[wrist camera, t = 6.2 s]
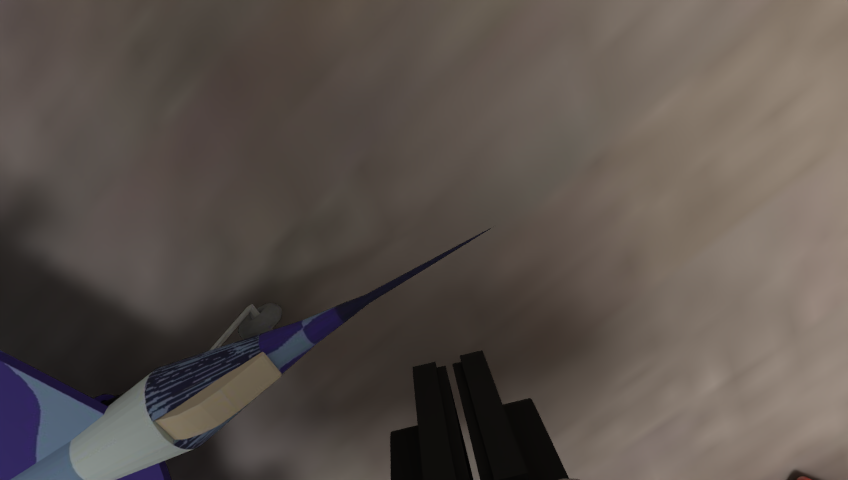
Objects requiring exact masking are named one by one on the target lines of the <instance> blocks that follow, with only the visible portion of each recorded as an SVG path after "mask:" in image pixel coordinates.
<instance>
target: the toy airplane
mask: <svg viewBox="0 0 848 480" xmlns="http://www.w3.org/2000/svg"><path fill="white" fill-rule="evenodd" d="M490 229H491V228H490ZM488 230H489V229H488ZM488 230H486V231H488ZM486 231H484V232H486ZM484 232H482V233H481V234H483V233H484ZM481 234H479V235H481ZM479 235H477V236H475V237H473V238H471V239H469V240H467V241H466V242H464V243H462V244H460V245H458V246H456V247H454V248H452V249H450V250H449V251H447V252H445V253H443V254H441V255H439V256H437V257H435V258H434V259H432V260H430V261H428V262H426V263H424V264H422V265H420V266H419V267H417V268H415V269H413V270H411V271H409V272H407V273H405V274H403V275H402V276H400V277H398V278H396V279H394V280H392V281H390V282H388V283H387V284H385V285H383V286H381V287H379V288H377V289H375V290H373V291H372V292H370V293H368V294H366V295H364V296H361V297H358V298H356V299H353V300H350V301H348V302H345V303H343V304H340V305H338V306H335V307H333V308H331V309H328V310H326V311H323V312H321V313H319V314H316V315H314V316H312V317H309V318H307V319H304V320H302V321H299V322H296V323H293V324H289V325H286V326H283V327H280V328H277V329H274V330H272V328H273V327H274V326H275V325H276V324H277V323H278V322H279V320H280V318H281V316H282V310H281V308H280V307H279V306H278V305H277V304H275V303H268V304H265V305H262V306H261V307H259V308H257V309H256V308H255V306H254V305H253V304H251V305H249V306H248V307H247V308H246V309H245V310H244V311H243V312H242V313H241V315H240V316H239V317H238V318H237V319H236V320H235V321H234V323H233V324H232V325H231V326H230V327H229V328H228V329H227V331H226V332H225V333H224V334H223V335H222V336H221V337H220V339H219V340H218V341H217V342H216V343H215V344H214V345H213V347H212V348H211V349H210V350H209V351H207V352H204V353H201V354H198V355H195V356H192V357H189V358H186V359H183V360H180V361H177V362H174V363H171V364H168V365H165V366H162V367H159V368H157V369H155V370H154V371H153V372H151V373H150V374H149V375H147V376H146V377H145V378H144V379H142V380H141V381H140V382H139V383H137V384H136V385H135V386H133V387H132V388H131V389H130V390H128V391H127V392H125V393H123V394H121V395H118V396H116V397H115V396H113V395H107V394H103V395H100V396H98V397H96V398H94V399H93V398H91V397H89V396H87V395H85V394H83V393H81V392H79V391H77V390H76V389H74V388H72V387H70V386H68V385H66V384H64V383H62V382H60V381H58V380H56V379H55V378H53V377H51V376H49V375H47V374H45V373H43V372H41V371H39V370H37V369H35V368H33V367H32V366H30V365H28V364H26V363H24V362H22V361H20V360H18V359H16V358H14V357H12V356H10V355H9V354H7V353H5V352H3V351H1V350H0V480H171V477H170V474H169V471H168V469H167V466H166V463H165V460H167V459H170V458H173V457H175V456H178V455H180V454H183V453H185V452H188V451H190V450H193V449H196V448H198V447H200V446H201V445H202V444H203V443H205V442H206V441H207V440H208V439H209V438H210V437H211V436H213V435H214V434H215V433H216V432H217V431H218V430H219V429H221V428H222V427H223V426H224V425H225V424H226V423H227V422H229V421H230V420H231V419H232V418H233V417H234V416H235V415H237V414H238V413H239V412H240V411H241V410H242V409H243V408H244V407H246V406H247V405H248V404H249V403H250V402H251V401H252V400H254V399H255V398H256V397H257V396H258V395H259V394H261V393H262V392H263V391H264V390H265V389H267V388H268V387H269V386H270V385H271V384H273V383H274V382H275V381H276V380H278V379H279V378H280V377H281V375H282V374H283V373H284V372H285V371H286V370H287V369H288V368H290V367H291V366H292V365H293V364H294V363H295V362H296V361H298V360H299V359H300V358H301V357H302V356H303V355H304V354H306V353H307V352H308V351H309V350H310V349H311V348H312V347H314V346H315V345H316V344H317V343H318V342H320V341H321V340H322V339H324V338H325V337H326V336H327V335H329V334H330V333H331V332H333V331H334V330H335V329H337V328H338V327H339V326H341V325H342V324H343V323H345V322H346V321H347V320H348V319H350V318H351V317H352V316H354V315H355V314H356V313H357V312H359V311H360V310H361V309H363V308H364V307H365V306H366V305H368V304H369V303H370V302H372V301H374V300H375V299H377V298H379V297H380V296H382V295H383V294H385V293H387V292H388V291H390V290H392V289H393V288H395V287H396V286H398V285H400V284H401V283H403V282H405V281H406V280H408V279H409V278H411V277H413V276H414V275H416V274H418V273H419V272H421V271H422V270H424V269H426V268H427V267H429V266H431V265H432V264H434V263H435V262H437V261H439V260H440V259H442V258H444V257H445V256H447V255H448V254H450V253H452V252H453V251H455V250H457V249H458V248H460V247H462V246H463V245H465V244H466V243H468V242H470V241H471V240H473V239H475V238H476V237H478V236H479ZM248 313H249V315H248ZM247 315H248V316H247ZM239 324H240V325H239ZM238 325H239V328H238V333H239V335H240V337H241V338H243V340H240V341H237V342H234V343H231V344H228V345H225V346H222V347H220V346H221V345H222V344H223V343H224V342H225V340H226V339H227V338H228V337H229V336H230V335H231V333H232V332H233V331H234V330H235V329H236V328H237V326H238Z"/></svg>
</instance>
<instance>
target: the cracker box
mask: <svg viewBox="0 0 848 480" xmlns="http://www.w3.org/2000/svg"><path fill="white" fill-rule="evenodd" d="M797 480H812V479H809V478H807V477H805V476H801V477H799V478H797Z"/></svg>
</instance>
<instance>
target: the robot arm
mask: <svg viewBox="0 0 848 480" xmlns="http://www.w3.org/2000/svg"><path fill="white" fill-rule="evenodd" d="M460 359H461V362H459V363H454V364H453V368H454V372H455V377H456V381H457V385H458V389H459V393H460V397H461V401H462V406H463V410H464V414H465V418H466V422H467V426H468V430H469V435H470V439H471V443H472V447H473V451H474V455H475V459H476V464H477V468H478V472H479V476H480V480H579V479H569V477H568V475H567V473H566V471H565V469H564V467H563V465H562V463H561V460H560V458H559V456H558V454H557V452H556V450H555V448H554V446H553V443H552V441H551V439H550V437H549V435H548V433H547V431H546V429H545V426H544V424H543V422H542V420H541V418H540V416H539V414H538V411H537V409H536V407H535V405H534V403H533V401H532V399H530V398H528V399H524V400H520V401H516V402H512V403H508V404H504V405H502V402H501V399H500V397H499V394H498V391H497V389H496V386H495V383H494V380H493V378H492V375H491V372H490V370H489V367H488V364H487V361H486V359H485V356H484V353H483V351H482V350H481V351H477V352H473V353H469V354H465V355H461V356H460ZM413 379H414V389H415V400H416V411H417V421H418V425H417V426H413V427H409V428H405V429H400V430H396V431H392V432H391V436H390V452H391V480H473V477H472V472H471V468H470V464H469V459H468V455H467V451H466V447H465V443H464V439H463V435H462V431H461V427H460V423H459V419H458V415H457V411H456V407H455V403H454V398H453V394H452V390H451V386H450V382H449V378H448V374H447V370H446V366H442V367H438V368H437V366H436V363H435V362H432V363H428V364H424V365H419V366H415V367H413Z"/></svg>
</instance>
